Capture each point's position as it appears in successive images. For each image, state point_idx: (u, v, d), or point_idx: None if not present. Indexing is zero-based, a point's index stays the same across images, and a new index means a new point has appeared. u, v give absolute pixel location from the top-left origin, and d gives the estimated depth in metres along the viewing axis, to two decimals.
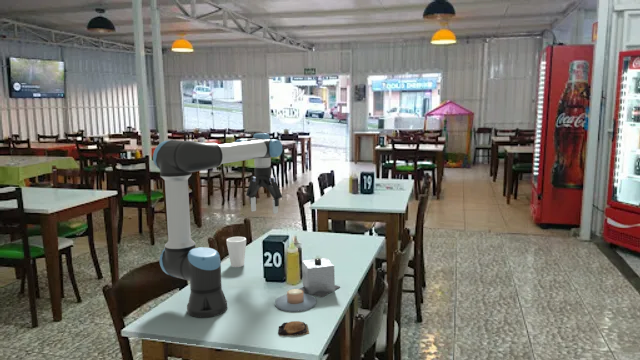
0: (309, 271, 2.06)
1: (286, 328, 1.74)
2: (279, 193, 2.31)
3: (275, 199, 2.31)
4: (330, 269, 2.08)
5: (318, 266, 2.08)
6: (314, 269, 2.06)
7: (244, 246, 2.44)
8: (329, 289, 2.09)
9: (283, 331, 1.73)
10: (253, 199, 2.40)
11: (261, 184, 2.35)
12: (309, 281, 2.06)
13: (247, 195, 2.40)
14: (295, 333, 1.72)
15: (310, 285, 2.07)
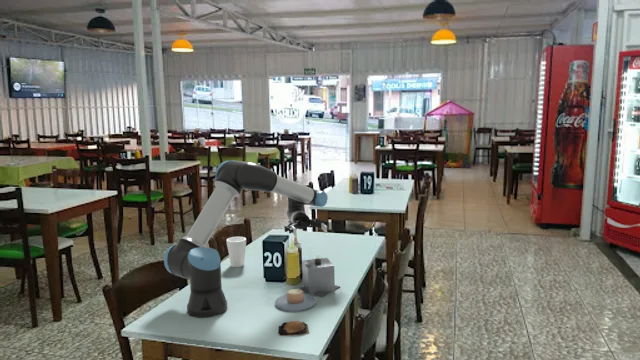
0: (309, 271, 2.06)
1: (286, 328, 1.74)
2: None
3: (324, 223, 2.27)
4: (330, 269, 2.08)
5: (318, 266, 2.08)
6: (314, 269, 2.06)
7: (244, 246, 2.44)
8: (329, 289, 2.09)
9: (283, 331, 1.73)
10: None
11: (303, 221, 2.32)
12: (309, 281, 2.06)
13: (286, 226, 2.24)
14: (295, 333, 1.73)
15: (310, 285, 2.07)
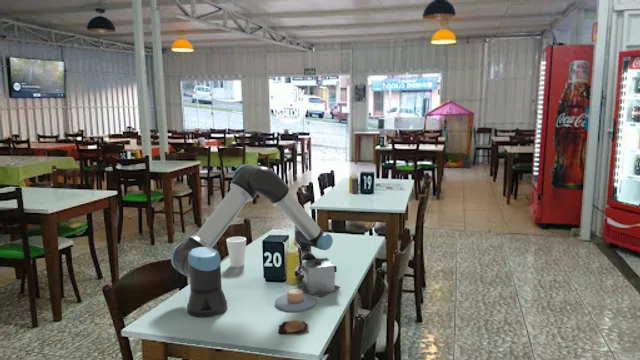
0: (309, 271, 2.06)
1: (286, 327, 1.74)
2: None
3: None
4: (330, 269, 2.08)
5: (318, 266, 2.08)
6: (314, 269, 2.06)
7: (244, 246, 2.44)
8: (329, 289, 2.09)
9: (283, 330, 1.73)
10: None
11: None
12: (309, 281, 2.06)
13: (297, 270, 2.14)
14: (295, 332, 1.73)
15: (310, 285, 2.07)
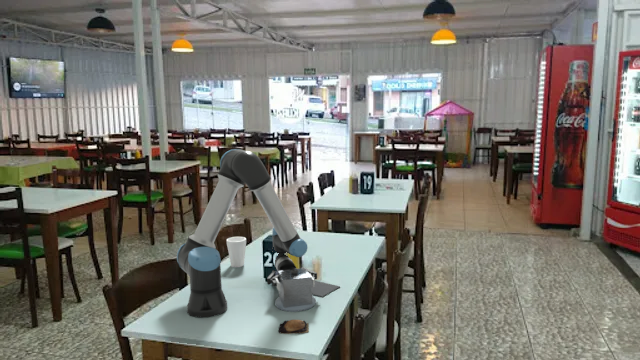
0: (284, 283, 1.91)
1: (286, 326, 1.75)
2: None
3: (312, 274, 2.03)
4: (307, 281, 1.94)
5: (294, 277, 1.93)
6: (289, 281, 1.92)
7: (244, 246, 2.44)
8: (306, 302, 1.95)
9: (283, 329, 1.74)
10: None
11: None
12: (284, 294, 1.92)
13: (269, 278, 2.00)
14: (294, 331, 1.74)
15: (285, 298, 1.92)
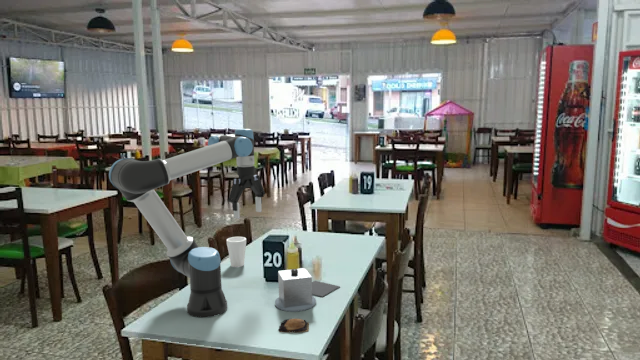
0: (284, 283, 1.91)
1: (286, 325, 1.76)
2: (231, 197, 2.08)
3: (232, 202, 2.11)
4: (307, 281, 1.94)
5: (294, 277, 1.93)
6: (289, 281, 1.92)
7: (244, 246, 2.44)
8: (306, 302, 1.95)
9: (283, 328, 1.75)
10: (257, 199, 2.22)
11: None
12: (284, 294, 1.92)
13: None
14: (294, 330, 1.74)
15: (285, 298, 1.92)
